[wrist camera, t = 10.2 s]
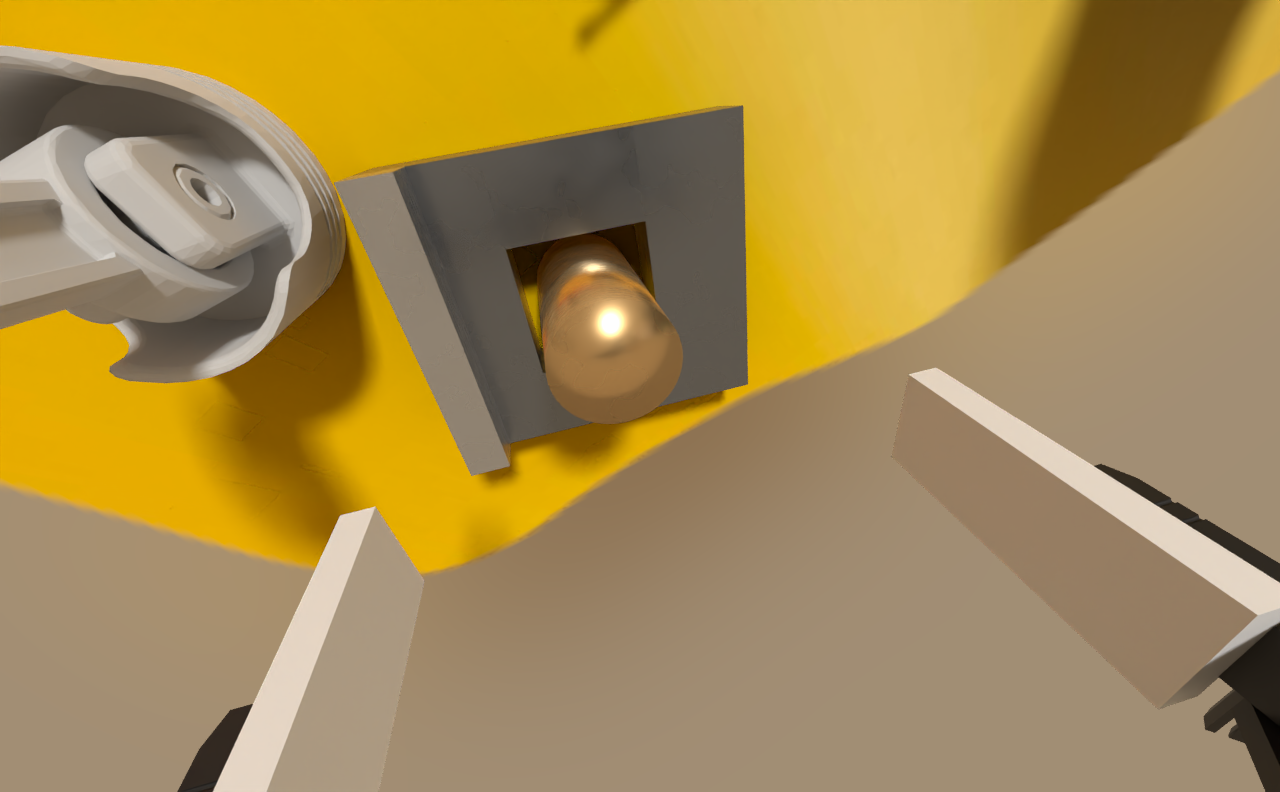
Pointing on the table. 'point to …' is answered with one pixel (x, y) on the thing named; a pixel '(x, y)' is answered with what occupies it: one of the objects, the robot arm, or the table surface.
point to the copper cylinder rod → (603, 333)
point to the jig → (547, 210)
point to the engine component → (157, 211)
